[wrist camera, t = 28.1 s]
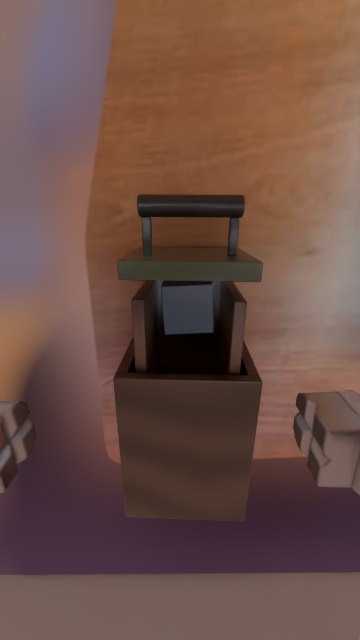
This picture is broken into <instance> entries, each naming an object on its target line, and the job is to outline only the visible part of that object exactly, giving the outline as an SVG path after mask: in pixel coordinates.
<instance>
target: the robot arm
mask: <svg viewBox="0 0 360 640" xmlns="http://www.w3.org/2000/svg"><path fill="white" fill-rule="evenodd" d="M296 406H297V408H298V409H299V411H300V412H299V413H298V414H297V415H296V416H295V417H294V434H295V439H296V442H297V445H298V447H299V449H300V451H301V452H302V453H304V454H305V455H307V456H308V463H307V465H308V467H309V469H310V471H311V473H312V475H313V477H314V479H315V481H316V483H317V485H318V487H353V490H354V491H355V492H356V493H358V494H359V495H360V395H359V394H358V393H357V392H355V391H353V390H346V391H334V392H315V393H299V394H298V396H297V400H296ZM29 413H30V412H29V409H28V406H27V404H26V403H24V402H22V401H0V493H4V492H5V490H6V489H7V487H8V486H9V484H10V483H11V481H12V480H13V478H14V477H15V475H16V474H17V472H18V464H19V463H20V462H21V461H23V460H24V459H26V458H27V457H28V455H29V454H30V452H31V451H32V449H33V445H34V442H35V428H34V425H33V424H32V423H31V422H30V421H29V420H27V417H28V415H29ZM0 640H360V573H359V572H357V573H355V572H353V573H241V574H240V573H233V574H231V573H230V574H228V573H227V574H115V575H114V574H108V575H107V574H103V575H101V574H100V575H0Z"/></svg>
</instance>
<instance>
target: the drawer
mask: <svg viewBox="0 0 360 640" xmlns="http://www.w3.org/2000/svg"><path fill="white" fill-rule="evenodd" d="M244 207H245V198H244V195H138V198H137V208H138V214H139V216H140V217H142V237H143V247H141V248H139V249H137V250H135V251H134V252H132V253H130V254H129V255H127V256H125V257H123V258H122V259H120V260H118V262H117V263H118V277H119V280H146V281H145V282H144V283H143V285H142V286H141V288H140V289H139V290H138V292H137V293H136V295H135V296H134V297H133V299H132V317H133V335H134V353H135V370H136V373H155V374H196V375H237V376H240V367H241V356H242V346H243V336H244V325H245V315H246V305H247V302H246V300H245V299H244V297H243V296H242V294H241V293H240V292H239V290H238V289H237V287H236V286H235V284H234V283H233V282H260V281H261V277H262V268H263V263H262V262H261V261H259V260H257V259H256V258H254V257H252V256H251V255H249V254H247V253H246V252H244V251H242V250H241V249H239V248H237V243H238V230H239V218H241V217H242V216H243V213H244ZM151 217H215V218H230V219H229V234H228V248H205V247H152V219H151ZM163 281H212V283H213V305H214V332H213V333H191V334H167V335H165V332H164V321H163V309H162V298H161V285H162V283H163Z"/></svg>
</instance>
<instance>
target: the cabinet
mask: <svg viewBox="0 0 360 640" xmlns="http://www.w3.org/2000/svg"><path fill="white" fill-rule="evenodd" d="M113 380H114V391H115V402H116V413H117V424H118V435H119V447H120V458H121V469H122V480H123V491H124V502H125V514H126V516H127V517H150V518H176V519H202V520H228V521H244V518H245V510H246V503H247V496H248V488H249V480H250V473H251V465H252V458H253V450H254V442H255V435H256V427H257V420H258V412H259V404H260V397H261V389H262V380H261V378H260V376H259V374H258V372H257V369H256V367H255V365H254V363H253V360H252V358H251V356H250V354H249V351H248V349H247V347H246V345H245V342H244V340H243V346H242V356H241V367H240V376H237V375H196V374H155V373H136V370H135V353H134V336H133V338H132V340H131V343H130V345H129V347H128V349H127V351H126V353H125V355H124V357H123V359H122V361H121V363H120V366H119V368H118V370H117V372H116V374H115V376H114V379H113Z"/></svg>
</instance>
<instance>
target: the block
mask: <svg viewBox="0 0 360 640" xmlns="http://www.w3.org/2000/svg"><path fill="white" fill-rule="evenodd" d="M161 298H162V309H163V321H164V332H165V335H167V334H191V333H213V332H214V305H213V283H212V281H163V283H162V285H161Z"/></svg>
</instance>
